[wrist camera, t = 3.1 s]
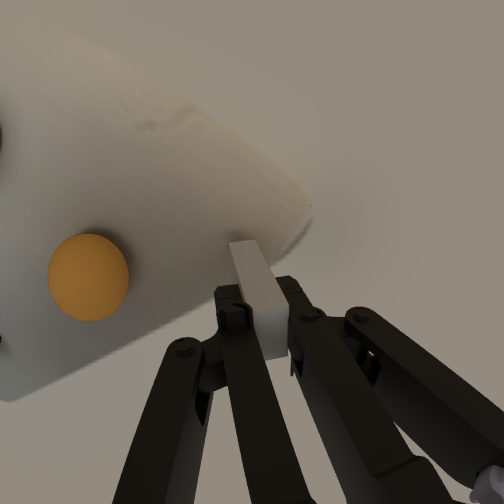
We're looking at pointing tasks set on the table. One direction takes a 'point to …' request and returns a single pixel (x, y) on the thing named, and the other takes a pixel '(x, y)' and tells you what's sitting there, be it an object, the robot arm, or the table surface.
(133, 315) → the table surface
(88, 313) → the ball
